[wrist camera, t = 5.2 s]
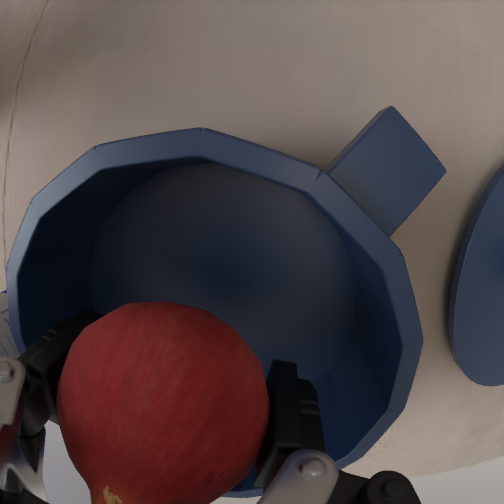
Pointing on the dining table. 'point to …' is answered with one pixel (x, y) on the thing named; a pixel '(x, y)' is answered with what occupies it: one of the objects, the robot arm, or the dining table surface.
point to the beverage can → (6, 330)
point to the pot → (245, 257)
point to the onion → (161, 405)
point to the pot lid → (481, 291)
